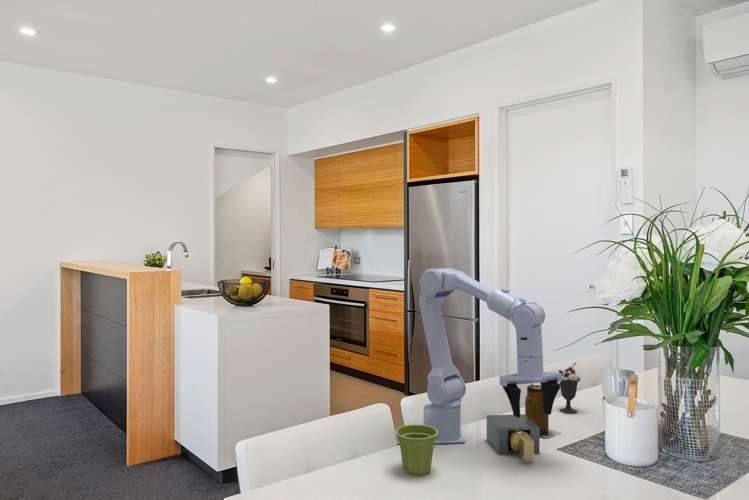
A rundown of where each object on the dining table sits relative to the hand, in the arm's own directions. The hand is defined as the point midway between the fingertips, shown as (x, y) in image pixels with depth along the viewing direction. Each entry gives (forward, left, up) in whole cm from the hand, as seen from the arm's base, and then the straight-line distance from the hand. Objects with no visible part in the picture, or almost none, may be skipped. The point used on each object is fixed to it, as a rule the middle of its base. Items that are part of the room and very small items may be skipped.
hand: (532, 414), depth 126 cm
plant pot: (-27, -2, -11) cm, 30 cm away
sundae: (+26, +37, -11) cm, 46 cm away
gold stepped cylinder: (-1, +5, -10) cm, 11 cm away
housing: (-1, +10, -11) cm, 15 cm away
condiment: (+10, +20, -11) cm, 25 cm away
